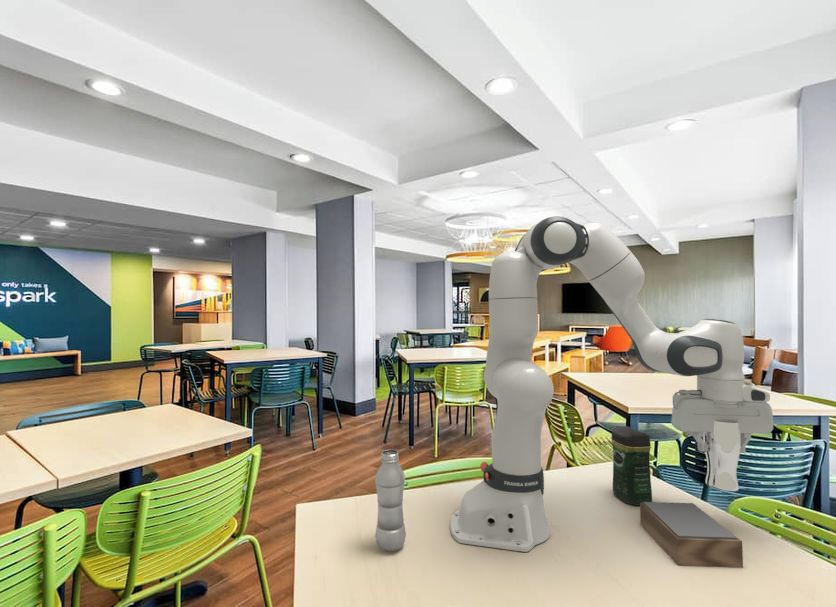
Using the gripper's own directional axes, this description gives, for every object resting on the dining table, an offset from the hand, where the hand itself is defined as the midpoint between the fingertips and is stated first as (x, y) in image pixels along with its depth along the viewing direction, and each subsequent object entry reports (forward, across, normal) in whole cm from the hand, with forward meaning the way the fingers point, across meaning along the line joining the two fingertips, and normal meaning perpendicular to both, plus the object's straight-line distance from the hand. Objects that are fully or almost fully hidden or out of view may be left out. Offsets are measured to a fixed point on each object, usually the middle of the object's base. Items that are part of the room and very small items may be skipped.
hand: (721, 451), depth 94 cm
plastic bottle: (+19, -74, -11) cm, 77 cm away
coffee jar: (+18, -13, +16) cm, 27 cm away
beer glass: (+8, 0, 0) cm, 8 cm away
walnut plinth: (+18, -11, -6) cm, 22 cm away
